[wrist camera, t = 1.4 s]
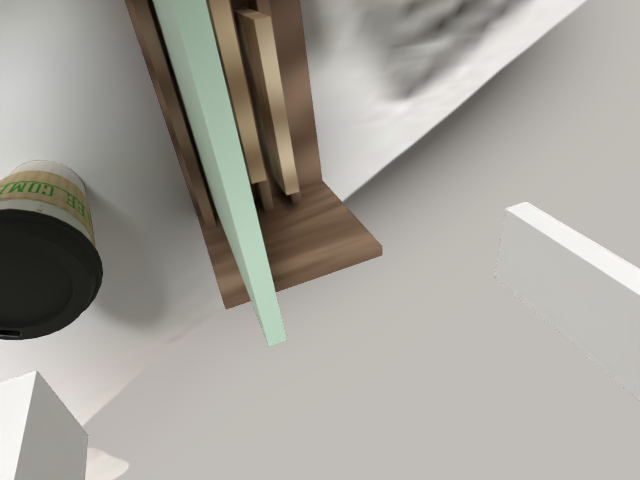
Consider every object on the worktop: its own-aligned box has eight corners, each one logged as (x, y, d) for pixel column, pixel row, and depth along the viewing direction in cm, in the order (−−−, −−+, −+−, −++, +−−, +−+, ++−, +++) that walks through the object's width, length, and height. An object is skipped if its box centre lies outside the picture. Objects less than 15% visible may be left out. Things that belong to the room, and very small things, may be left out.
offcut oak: (167, -92, 31) (183, -109, 23) (183, -94, 31) (205, -112, 24) (227, 141, 41) (252, 183, 34) (239, 138, 42) (266, 179, 34)
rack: (72, -156, 29) (37, -240, 17) (271, -172, 32) (362, -252, 20) (198, 217, 46) (225, 309, 34) (318, 182, 49) (382, 255, 37)
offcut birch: (230, 9, 36) (253, 19, 30) (244, 6, 36) (270, 16, 30) (262, 161, 44) (286, 195, 38) (274, 158, 44) (299, 191, 38)
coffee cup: (118, 159, 40) (118, 241, 28) (94, 246, 44) (84, 352, 32) (-11, 123, 35) (-76, 206, 23) (-27, 225, 38) (-91, 342, 27)
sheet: (119, -105, 30) (117, -191, 13) (136, -107, 30) (159, -194, 13) (210, 194, 44) (268, 347, 27) (222, 191, 44) (287, 340, 27)
